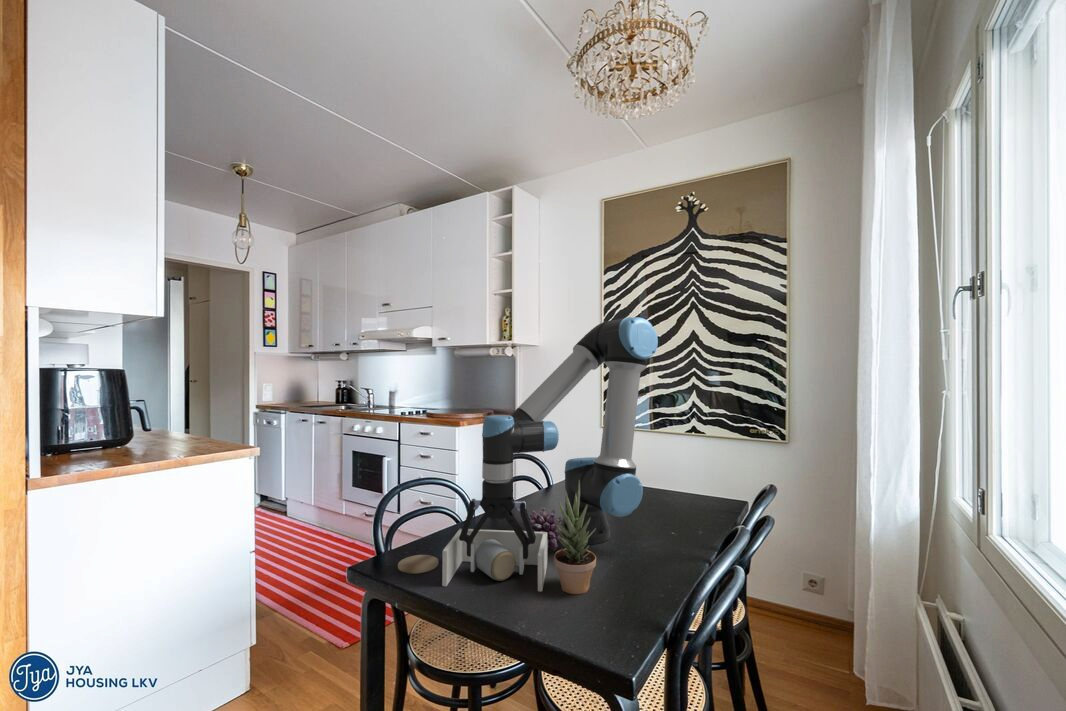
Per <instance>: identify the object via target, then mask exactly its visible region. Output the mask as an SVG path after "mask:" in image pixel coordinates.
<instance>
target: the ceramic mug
mask: <svg viewBox="0 0 1066 711" xmlns="http://www.w3.org/2000/svg"><path fill="white" fill-rule="evenodd" d="M475 563H476V568H477V569H479V571H481V572H482V573H484V574H485V575H487V576H488V577H490V578H491V579H492V580H494V581H497V582H498V581H500V582H502V581H505V580H507V579H509V578H510V577H511V576H512V574H513V573H517V574H518V573H519V563H518V562H516V561H515V557H514V555H513V554H512V552H511V551H510V550H508V549H507V548H506V547H504V546H503V545H502V544H501V543H499V542H498V541H497V540H494V539H488V540H486V541H484V542H483V543H481V544H480V546H479V547H478V549H477V551H476V554H475Z"/></svg>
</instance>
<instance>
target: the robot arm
mask: <svg viewBox="0 0 1066 711" xmlns="http://www.w3.org/2000/svg"><path fill="white" fill-rule="evenodd" d="M658 344H659V339H658V333H657V331H656V329H655V327H653V324H652V323H651V322H650V321H649V320H647V319H645V318H642V317H638V316H637V317H636V316H635V317H631V316H629V317H624V318H619V319H614V320H613V319H612V320H606V321H602V322H601V323H599V324H597V325H596V326H594V327H593V328H591V330H589V331H588V332H587V333H586V334H585V335H584V336H583V337H582V338H581V339H580V340H578V342H577V343H576V344H574V346H573V348H572V353H570V355H568V357H566V359H564V360H563V362H562V363H561V364H560V365H559V366H557V368H556V369H555V370H554V371H553V372H551V374H550V375H549V376H547V378H546V379H545V380H544V381H543V382H542V383H541V384H540V385H539V386H538V387H537V388H536V389H535V390H534V391H533V392H532V393H531V394H530V395H529V396H528V397H527V398H526V399H525V400H524V401H523V402H522V403H521V404H520V405H519V406H518V407H517V408H516V409H515V410H514V411H513V412H512V413H511V414H510V415H507V414H491V415H487V416H486V417H484V418H483V420H482V421H483V424H482V431H481V432H482V433H481V438H482V467H481V468H482V471H481V472H482V474H481V476H482V478H481V479H483V481H482V484H481V486H482V487H481V488H482V490H481V491H482V492H481V493H482V497H481V499H480V500H479V499H476V498H472V499H471V500H470V501H469V503H468V512H467V516H466V518H465V521H464V523H463V526H462V528H461V529H462V531H461V534H460V537H459V540H460V541H465V542H466V543H467V556H468V557H471V562H470V572H471V573H475V570H476V568H477V565H476V563H475V554H476V541H475V540H473V539H474V537H475V536H476V534H477V533H478V531H479V530H481V529H482V527H483V525H484V524H485V522H486V521H487V519H488V518H489V519H490V520H495V519H498V520H504V519H505V520H506V522H507V523H508V524H509V526H510V527H511V529H512V531H514V532H515V533H516V535H517V537H518V538H519V540H520V541H521V544H520V546H519V574H518V575H523V574H524V571H525V564H524V559H527V558H528V545H529V544H534V543H535V540H536V536H535V533H534V530H533V527H532V524H531V522H530V519H531V518H530V515H529V513H528V510H527V501H526V500H525V499H524V500H521V501H515V499H514V480H513V478H514V454H524V453H526V454H527V453H537V452H542V453H544V452H546V451H547V452H548V451H552V450H553V451H554V449H556V448H557V446H558V445H559V444H558V443H559V435H560V434H559V429H558V427H557V425H556V424H555V423H554V422H553V421H550V420H549V421H548V420H547V421H546V420H544V419H545V418H546V417H547V416H548V415H549V414H550V413H551V412H552V411H554V409H555V408H556V407H557V406H558V405H559V403H561V402H562V401H563V399H565V397H566V396H568V394H570V392H571V391H572V390H573V389H574V388H575V387H576V386H577V385H578V384H579V383H580V382H581V381H582V380H583V378H585V377H586V375H587V374H588V373H589V372H591V371H592V370H593V371H594V370H597V369H598V368H599V367H600V366H601V365H602V364H604V365H605V366H606V367H607V368H608V370H609V372H608V382H607V390H606V400H605V409H604V417H603V418H604V419H603V427H602V434H601V445H600V452H599V453H600V454H599V456H595V457H590V456H589V457H575V458H570V459H568V460H566V462H565V464H564V465H565V466H564V491H565V490H566V493H567V496H568V499H569V502H570V505H571V508H572V512H573V504H574V500H575V493H576V496H578V484H579V480H580V502H579V516H578V519H579V517H580V516H581V514H582V512H583V510H584V508H585V507H586V505H587V510H586V513H585V516H584V520H583V525H582V527H583V526H584V525H585V524H586V522H587V521H588V519H589V518H590V517H591V518H590V522H589V524H588V526H587V528H586V533H587V532H588V531H589V533H588V535H589V534H590V533H591V532H592V531H593V530H594V529H595V528H596V529H595V531H594V532H593V533H592V535H591V536H590V537H589V538H588V543H587V544H586V545H596V544H601V543H604V542H607V541H608V540H610V538H611V529H610V526H609V522H608V519H607V516H606V514H607V515H609V516H610V515H612V516H613V517H618V518H623V517H626V516H629V515H630V514H632V513H633V511H634V510H637V508H638V507H639V505H640V503H641V501H642V499H643V495H644V494H643V492H644V490H643V488H644V487H643V484H642V483H641V480H640V479H639V478H638V477H637V474H636V472H637V464H635V462H634V461H633V459H632V457H633V447H634V446H633V445H634V439H635V430H636V426H635V425H636V418H637V410H638V399H639V390H640V389H639V388H640V380H641V373H642V372H643V371H644V370H646V369H647V366H648V359H650V358H651V357H653V356H654V354H655V353H656V352H657V349H658ZM479 507H481V509H482V510H483V511H484V513H483V515H482V516H481V518H480V520H478V523H477V524H476V525H475V527H474V530H473V531H472V533H471V534H470V535H467V532H468V530H469V529H470V527H471V523H472V521H473V518H474V516H475V513H476V511H477V510H478V509H479ZM514 508H516V509H517V511H518V512H519V513H520V517H521V520H522V523H523V525H524V526H525V528H524V529H523V528H522V527H521V525H520V523H519V522H518V520H517V518H516V517H515V515H514V513H513V509H514ZM564 511H565V513H566V515H567V516H568V509H567V504H566V498H565V497H564ZM529 518H530V519H529ZM561 518H562V519H563V520H562V521H561V522H560V524H561V525H562V526H564V527H565V528H566V529H568V528H567V525H566V523H565V520H564V518H563V516H562V517H561ZM524 526H523V527H524ZM523 530H526V532H527V535H528V538H527V536H526V534H525V533H524V531H523ZM562 534H563V535H564V536H565V534H564V533H562ZM588 535H587V536H588ZM560 536H561V535H560ZM565 537H566V536H565ZM561 538H562V537H561ZM566 538H567V537H566Z"/></svg>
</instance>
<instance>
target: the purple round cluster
mask: <svg viewBox="0 0 1066 711" xmlns="http://www.w3.org/2000/svg"><path fill="white" fill-rule="evenodd" d="M555 513H556V510H555V509H552V511H550V512H548V513H547V512H546V508H545V507H541V508H540V511H539V513H538V512H536V511H535V510H531V513H530V514H529V519H530V522H531V524H532V527H533V530H534V532H547V550H548V548H551V550H553V551H554V552H556V550H557V548H558V547H559V545H558V543H557V542H560V541H559V540H558V539H557V537H558V538H559V539H560V540H562V539H561V536H560V534H559V532H558V530H557V528H556V526H555V523H556V525H557V527H558V528H559V530H560V531H561V533H563V531H562V530H561V528H560V527H559V526H558V524H557V522H556V520H555V518H556V519H557V520H558V522H559V523H561V521H562V520H563V519H562V517H561V516H559V517H555ZM554 522H555V523H554ZM523 528H524V529H522V530H523V531H526V529H525V526H523Z"/></svg>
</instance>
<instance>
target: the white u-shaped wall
mask: <svg viewBox="0 0 1066 711" xmlns="http://www.w3.org/2000/svg"><path fill="white" fill-rule="evenodd" d="M473 530H474V529H473V528H469V530H468V532H467V535H470V534H471V533H472V531H473ZM461 531H462V528H459V529H458V530H457V532H456V533H455V535H454V536H453V537H452V538H451V540H449V542H447V544H446V546H445V547H444V548H443V550H442V573H441V574H442V575H441V576H442V577H441V578H442V583H441V585H442V587H447V586H448V585H449V583H450V582H451V580H452V578H453V577H454V575H455V574H456V573H457V570H458V569H459V567H460V566H461V565H462V563H463V562H464V563H465V562H469V563H471V557H468V556H467V543H466V542H465V541H460V540H459V537H460V534H461ZM524 533H525V534H526V536H527V538H528V535H527V532H526V531H524ZM534 533H535V536H536V540H535V543H534V544H529V545H528V558H527V559H524V565H526V566H527V565H530V566H532V565H533V566H537V592H543V588H544V585H545V584H544V583H545V578H546V573H547V568H548V549H547V532H534ZM488 539H494V540H497V541H498V542H499V543H501V544H502V545H503V546H504V547H506V548H507V549H508V550H510V551H511V552H512V554H513V555H514V557H515V561H516V562H518V563H519V546H520V544H521V541H520V540H519V538H518V537H517V535H516V533H515V532H514V530H501V529H500V530H499V529H480V530H479V531H478V533H477V534H476V536H475V537H474V539H473V540H475V541H476V551H477V549H478V547H479V546H480V544H481V543H483V542H484V541H486V540H488Z"/></svg>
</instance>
